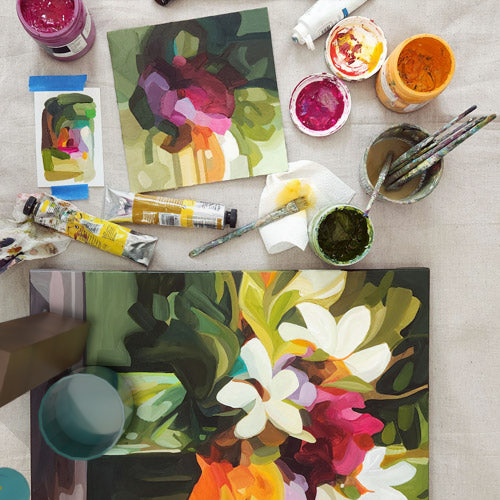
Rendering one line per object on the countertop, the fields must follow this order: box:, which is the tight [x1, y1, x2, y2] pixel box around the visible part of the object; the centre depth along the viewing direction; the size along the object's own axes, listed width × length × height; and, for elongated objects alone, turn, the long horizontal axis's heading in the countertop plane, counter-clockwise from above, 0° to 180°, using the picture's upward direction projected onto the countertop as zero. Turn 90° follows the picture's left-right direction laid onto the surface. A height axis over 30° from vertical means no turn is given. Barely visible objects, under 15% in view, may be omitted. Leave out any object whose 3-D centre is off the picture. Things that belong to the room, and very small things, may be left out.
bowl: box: [37, 365, 135, 462], centre depth 66 cm, size 12×12×5 cm
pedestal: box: [0, 310, 91, 409], centre depth 58 cm, size 7×6×23 cm
